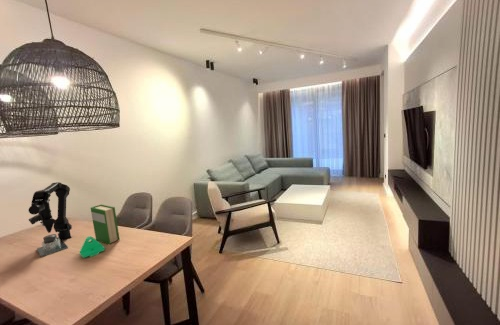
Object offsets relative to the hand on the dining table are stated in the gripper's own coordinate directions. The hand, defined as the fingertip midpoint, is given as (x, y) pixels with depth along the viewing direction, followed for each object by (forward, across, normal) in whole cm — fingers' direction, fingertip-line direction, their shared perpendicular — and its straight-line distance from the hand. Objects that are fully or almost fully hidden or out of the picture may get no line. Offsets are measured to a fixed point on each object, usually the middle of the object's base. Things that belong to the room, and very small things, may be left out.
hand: (49, 232), depth 163 cm
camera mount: (+12, +32, +15) cm, 38 cm away
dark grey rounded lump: (+8, 0, 0) cm, 9 cm away
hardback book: (+12, +19, +28) cm, 36 cm away
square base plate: (+12, 0, 0) cm, 12 cm away
